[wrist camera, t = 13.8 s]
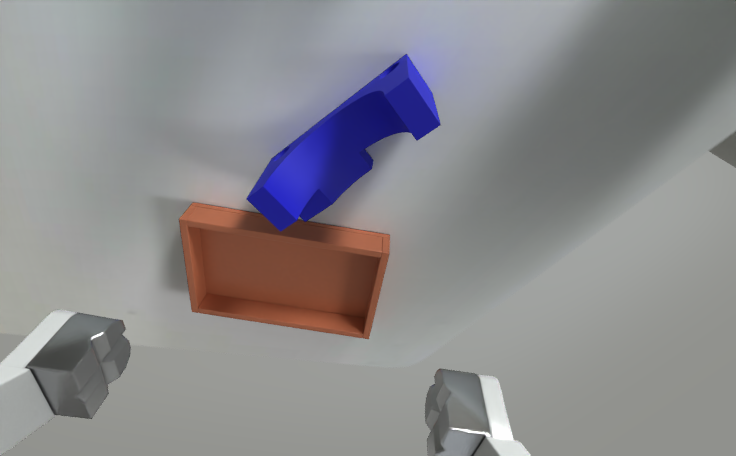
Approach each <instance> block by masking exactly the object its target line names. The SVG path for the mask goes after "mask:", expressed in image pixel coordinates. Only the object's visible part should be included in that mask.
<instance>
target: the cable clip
mask: <svg viewBox="0 0 736 456" xmlns="http://www.w3.org/2000/svg"><path fill="white" fill-rule="evenodd" d="M440 125H441V124H440V120H439V117H438V113H437V109H436V105H435V102H434V98H433V94H432V92H431V91H430V89H429V87H428V86H427V84H426V83H425V81H424V80H423V78H422V77H421V75H420V74H419V72H418V71H417V69H416V68H415V66H414V65H413V63H412V62H411V60H410V59H409V57H408V56H407V54H406V55H404V56H403V57H402V58H400V59H399V60H398V61H397V62H395V63H394V64H393V65H391V66H390V67H389V68H388V69H386V70H385V71H384V72H382V73H381V74H380V75H379V76H377V77H376V78H375V79H373V80H372V81H371V82H370V83H368V84H367V85H366V86H364V87H363V88H362V89H361V90H359V91H358V92H357V93H355V94H354V95H353V96H352V97H350V98H349V99H348V100H346V101H345V102H344V103H343V104H341V105H340V106H339V107H337V108H336V109H335V110H334V111H332V112H331V113H330V114H328V115H327V116H326V117H325V118H323V119H322V120H321V121H319V122H318V123H317V124H316V125H314V126H313V127H312V128H310V129H309V130H308V131H307V132H305V133H304V134H303V135H301V136H300V137H299V138H298V139H296V140H295V141H294V142H292V143H291V144H290V145H289V146H287V147H286V148H285V149H283V150H282V151H281V152H280V153H278V154H277V155H276V156H274V157H273V158H272V159H271V161H270V162H269V164H268V165H267V167H266V169H265V170H264V172H263V173H262V175H261V177H260V178H259V180H258V181H257V183H256V184H255V186H254V188H253V189H252V191H251V192H250V194H249V195H248V197H247V200H248V201H249V202H250V203H251V204H252V205H253V206H254V207H255V208H256V209H257V210H258V211H259V212H260V213H262V214H263V215H264V216H265V217H266V218H267V219H268V220H269V221H270V222H271V223H272V224H273V225H274V226H275V227H276V228H277V229H278V230H279V231H280V232H281V231H282V230H284V229H285V228H287V227H288V226H290V225H291V224H293V223H294V222H296V221H297V220H298V218H299V216H300V217H301V218H302V219H303V220H304V221H305V222H306V221H308V220H309V219H311V218H312V217H314V216H315V215H317V214H318V213H320V212H321V211H323V210H324V209H326V208H327V207H329V206H330V205H332V204H333V203H334V202H335V201H336V200H337V199H338V197H339V196H340V195H341V194H342V193H343V192H344V191H345V190H346V189H347V188H349V187H350V186H351V185H352V184H353V183H354V182H355V181H357V180H358V179H359V178H360V177H362V176H363V175H364V174H366V173H367V172H368V171H370V170H371V169H372V165H373V159H372V158H371V157H370V155H369V154H368V153H367V152H366V150H365V148H367V147H368V146H370V145H372V144H373V143H375V142H377V141H379V140H381V139H383V138H385V137H388V136H390V135H393V134H396V133H401V132H409V133H412V135H413V136H414V137H415V139H416V140H419V139H420V138H422V137H423V136H425V135H426V134H428V133H429V132H431V131H432V130H434V129H435V128H437V127H438V126H440Z"/></svg>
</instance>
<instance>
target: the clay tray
mask: <svg viewBox="0 0 736 456" xmlns="http://www.w3.org/2000/svg"><path fill="white" fill-rule="evenodd" d="M179 223H180V230H181V238H182V245H183V252H184V259H185V266H186V273H187V280H188V287H189V294H190V302H191V309H192V312H196V313H198V312H199V313H203V314H209V315H216V316H222V317H229V318H235V319H242V320H248V321H255V322H261V323H268V324H274V325H280V326H287V327H293V328H300V329H306V330H313V331H319V332H326V333H332V334H339V335H345V336H352V337H358V338H365V339H369V336H370V332H371V327H372V323H373V319H374V315H375V311H376V307H377V303H378V298H379V294H380V290H381V286H382V282H383V278H384V274H385V269H386V265H387V261H388V257H389V246H390V235H387V234H380V233H374V232H368V231H362V230H356V229H350V228H344V227H338V226H332V225H326V224H320V223H314V222H308V221H306V222H305V221H302V220H297V221H296V222H294V223H293V224H291V225H290V226H288V227H287V228H285V229H284V230H282V231H281V232H280V231H279V230H278V229H277V228H276V227H275V226H274V225H273V224H272V223H271V222H270V221H269V220H268V219H267V218H266V217H265V216H264V215H263V214H260V213H254V212H247V211H241V210H235V209H229V208H223V207H217V206H211V205H205V204H199V203H192V204H191V205H190V207H189V208H188V209H187V210H186V211H185V212H184V214H183V215H182V216H181V217H180V218H179Z"/></svg>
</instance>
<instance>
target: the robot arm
mask: <svg viewBox="0 0 736 456" xmlns="http://www.w3.org/2000/svg"><path fill="white" fill-rule="evenodd" d="M125 329H126V328H125V325H124V323H123V320H118V319H112V318H106V317H101V316H95V315H89V314H83V313H78V312H72V311H66V310H59V309H58V310H56V311H54V312H52V313H50V314H49V315H48V316H47V317H46V318H45V319H44V320H43V321H42V322H41V323H40V324H39V325H38V326H37V327H36V328H35V329H34V330H33V331H32V332H31V333H30V334H29V335H28V336H27V337H26V338H25V339H24V340H23V341H22V342H21V343H20V344H19V345H18V346H17V347H16V348H15V349H14V350H13V351H12V352H11V353H10V354H9V355H8V356H7V357H6V358H5V359H4V360H3V361H2V362H1V363H0V456H1V455H3V454H4V453H5V452H7V451H8V450H9V449H11V448H12V447H14V446H15V445H16V444H18V443H19V442H21V441H22V440H23V439H25V438H26V437H28V436H29V435H31V434H32V433H33V432H35V431H36V430H37V429H39V428H40V427H42V426H43V425H44V424H46V423H47V422H49V421H50V420H51V419H53V418H54V417H55V415H61V416H70V417H80V418H87V419H88V418H89V419H92V418H93V416H94V415H95V413H96V412H97V410H98V409H99V407H100V406H101V404H102V403H103V401H104V400H105V398H106V397H107V395H108V394H109V393H108V384H109V383H111V382H113V381H114V380H116V379H118V378H119V377H120V376H121V374H122V372H123V371H124V369H125V368H126V365H127V363H128V360H129V357H130V349H131V347H130V343H129V340H128V339H127V338H125V337H124V336H123V335H122V334H123V332H124V331H125ZM434 378H435V384H434V385H432V386H430V388H429V391H428V393H427V397H426V403H425V421H426V424H427V426H428V427H429V428H430V430H431V432H430V434H429V436H428V438H427V451H428V456H531V455H530V453H529V452H528V451H527V450H526V449H525V447H524V446H523V445H522V444H521V442H520V441H516V440H514V439H513V436H512V431H511V428H510V424H509V420H508V416H507V412H506V408H505V404H504V400H503V396H502V393H501V388H500V384H499V381H498V380H497V378H496V377H492V376H486V375H478V374H475V373H469V372H461V371H454V370H446V369H438V370H437V372H436V374H435V376H434Z"/></svg>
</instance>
